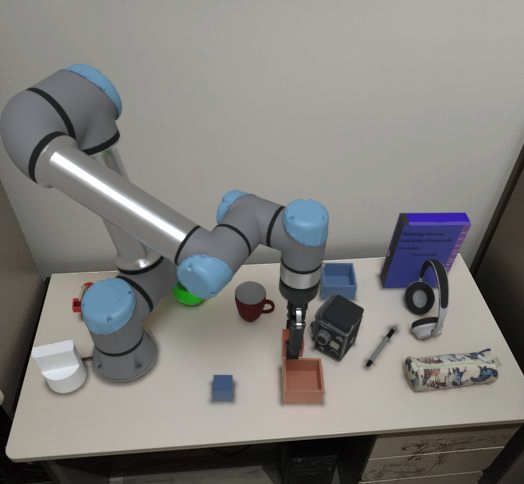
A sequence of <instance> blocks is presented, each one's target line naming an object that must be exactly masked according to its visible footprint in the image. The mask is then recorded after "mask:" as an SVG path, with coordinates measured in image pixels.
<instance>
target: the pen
mask: <svg viewBox="0 0 524 484" xmlns="http://www.w3.org/2000/svg"><path fill="white" fill-rule="evenodd" d="M397 327H398V324H395V325H393V326H392V327H391V328H390V330H389V331H388V332H387V333H386V335H385V336H384V338H383V339H382V341H381V342H380V344H379V345H378V346H377V348H376V349H375V350H374V352H373V353H372V355H371V356H370V357H369V359H368V360H367V362H366V364H365V365H366V367H368V368H370V367H371V366H372V364H373V363H374V362H375V360H376V359H377V357H378V356H379V355H380V354H381V352H382V351H383V349H384V347H385V346H386V345H387V343H388V342H389V340H390V339H391V338H392V336H393V335H394V333H395V332H396V331H397Z"/></svg>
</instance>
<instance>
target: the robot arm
mask: <svg viewBox="0 0 524 484" xmlns="http://www.w3.org/2000/svg"><path fill="white" fill-rule="evenodd" d="M122 111H123V102H122V98H121V96H120V93H119V91H118V90H117V88H116V86H115V85H114V84H113V83H112V81H111V80H110V79H109V78H108V77H107V76H106V75H105V74H103V73H102V72H101V71H100V70H98V69H97V68H96V67H94V66H92V65H90V64H87V63H74V64H71V65H69V66H66V67H65V68H59V69H58V70H56V72H54V73H52V74H51V75H49V76H47V77H45V78H43V79H42V80H40V81H38V82H37V83H34V84H32V85H31V86H29V87H28V88H26V89H24V90H21V91H19V92H17V93H15V94H14V95H13V96H11V97H10V99H9V100H8V101H7V102H6V104H5V106H4V107H3V109H2V112H1V115H0V138H1V142H2V144H3V148H4V150H5V152H6V154H7V155H8V157H9V159H10V161H11V162H12V163H13V164H14V165H15V167H16V168H17V169H18V170H19V171H20V172H21V173H22V174H23V175H24V176H25V177H26V178H28V179H29V180H30V181H32V182H33V183H35V184H37V185H38V186H40V187H41V188H43V189H53V188H54V189H56V190H58V191H59V192H60V193H62V194H64V195H65V196H67V197H69V199H71V200H73V201H75V202H77V203H78V204H79V205H81V206H83V207H84V208H86V209H88V210H89V211H91V212H92V213H94V214H95V215H97V216H99V217H100V218H101V220H102V222H103V224H104V226H105V229H106V231H107V233H108V235H109V237H110V240H111V241H112V244H113V245H114V247H115V250H116V254H115V256H114V263H115V266H116V268H117V271H118V273H117V275H115V276H114V277H106V278H105V280H103V279H99V280H97V281H95V282H93V283H94V284H93V285H91V286H90V287H89V288H88V290H87V291H86V292H85V294H84V296H83V298H82V302H81V310H82V312H81V313H82V314H83V316H82V320H83V322H84V325H85V326H86V329H87V330H88V333H89V335H90V338H91V340H92V342H93V349H92V355H90V356H86V357H80V358H81V360H82V362H85V361H86V362H87V361H89V360H92V363H93V366H94V368H95V370H96V372H97V373H98V375H99V376H101V378H103V379H104V380H107V381H109V382H113V383H129V382H132V381H135V380H137V379H139V378H141V377H143V376H144V375H146V374H147V373H148V372H149V370H151V368H152V367H153V366H154V363H155V361H156V359H157V349H156V345H155V342H154V340H155V337H154V335H153V333H152V331H151V329H150V328H148V330H149V332H150V335H149V334H148V333H147V332H146V330H144V328H143V322H144V321H145V320H146V319H147V317H148V316H149V315H150V314H151V313H152V312H153V311H154V310H155V308H157V307H158V306H159V304H160V303H162V301H163V300H164V299H165V298H166V297H167V296H168V295H169V294H170V293H171V292H173V289H174V287H175V286H176V284H177V282H178V281H180V283H181V284H182V285H183V286H185V287H186V288H187V291H188V292H190V293H191V294H193V295H194V296H197V297H199V298H203V299H204V300H207V299H208V300H209V299H213V298H215V297H216V296H218V294H220V292H221V291H222V290H223V289H224V288H225V287H226V286H227V285H228V284H230V282H231V281H232V280H233V278H234V276H235V275H236V274H237V272H238V271H239V270H240V269H241V267H242V266H244V264H245V262H246V261H247V260H248V259H249V258H250V256H251V255H252V254H253V252H255V250H256V249H257V248H258V247H259V246H260V245H262V246H265V247H267V248H270V249H274V250H276V251H279V252H280V259H279V261H280V262H279V279H278V280H279V281H278V291H279V293H280V296H281V297H282V298H283V299H284V300H286V302H287V304H286V310H287V313H286V318H287V319H286V323H285V329H289V339H288V340H285V345H287V351H286V357H285V358H286V360H298V359H299V358H300V357H299V352H300V351H301V350H302V344H303V337H304V336H305V330H306V327H307V322H306V319H307V310H309V309H308V308H309V303H310V302H312V301H313V300H314V299H316V297H317V296H318V293H319V289H320V275H321V268H325V263H326V262H324V256H325V251H326V245H327V240H328V238H329V223H330V222H329V220H330V215H329V212H328V210H327V208H326V206H325V205H323V204H322V203H321V202H320V201H317V200H315V199H311V198H309V199H307V200H306V199H303V198H298V199H295V200H292V201H291V202H289V203H288V204H287V205H286V206H285V205H282V204H279V203H277V202H274V201H272V200H269V199H267V198H263V197H260V196H258V195H256V194H254V193H250V192H245V191H241V190H238V189H231V190H228V191H227V192H226V193H225V194H224V195H223V196H222V199H221V201H220V202H219V204H218V205H217V206H218V207H217V209H216V214H215V215H216V216H215V218H216V223H217V224H216V225H215V226H214V228H212V229H211V231H210V230H208V229H207V228H204V226H202V225H199V224H198V223H196V221H194V220H192V219H190V218H189V217H187V216H186V215H184V214H183V213H181V212H179V211H178V210H176V209H174V208H173V207H171V206H170V205H168V204H166V203H165V202H163V201H161V200H160V199H159V198H157V197H155V196H154V195H152V194H151V193H149V192H148V191H146V190H144V189H142V188H141V187H139V186H137V185H136V184H135V183H134V182H131V180H130V177H129V176H130V175H129V173H128V172H127V168H126V166H125V163H124V161H123V158H122V157H121V154H120V151H119V149H118V147H117V146H118V145H119V143H120V140H121V137H122V136H121V132H120V129H119V128H118V125H117V122H116V121H118V120H119V119H120V117H121V115H122ZM193 221H194V222H193ZM322 262H323V263H322ZM82 314H81V315H82ZM304 338H305V337H304Z"/></svg>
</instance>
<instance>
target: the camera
mask: <svg viewBox="0 0 524 484" xmlns="http://www.w3.org/2000/svg"><path fill="white" fill-rule="evenodd" d="M364 313H365V309H364V307H362V306H360V305H358V304H357V303H355V302H353V301H351V300H348V299H346V298H344V297H343V296H341V295H336V294H330V296H329V297H328V298H327V299H324V301H323V303H321V305H320V306H319V307H318V308H317V310H316V312H315V314H314V320H312V321H311V322H310V324H309V328H310V330H311V332H310V333H311V339H310V340H311V341H313V342H314V349H316V350H317V351H319V352H321V353H323V354H324V355H326V356H328V357H329V358H331V359H333V360H334V361H337V362H342V360H343V359H344V357H345V356H346V355H347V353H348V352H349V351H350V349H351V348H352V347H353V345H354V343H355V342H356V340H357V337H358V334H359V330H360V327H361V323H362V321H363V318H364Z"/></svg>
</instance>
